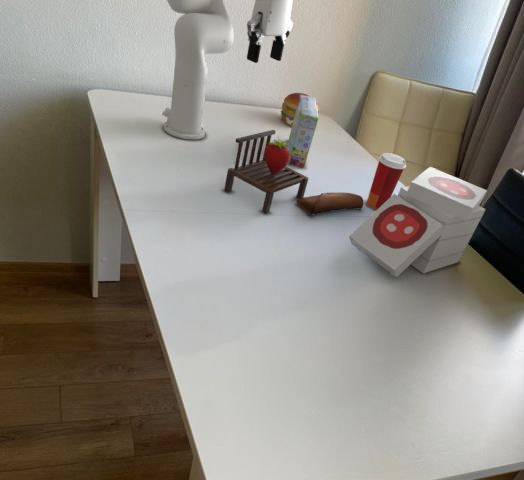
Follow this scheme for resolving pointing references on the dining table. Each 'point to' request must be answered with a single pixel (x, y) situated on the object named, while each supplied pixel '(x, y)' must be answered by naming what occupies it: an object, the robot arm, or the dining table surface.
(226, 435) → the dining table surface
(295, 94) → the burger
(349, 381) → the dining table surface
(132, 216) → the dining table surface
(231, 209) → the dining table surface
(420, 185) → the pizza boxes
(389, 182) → the paper cup
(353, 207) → the sunglasses case
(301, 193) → the miniature wooden chair
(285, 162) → the strawberry
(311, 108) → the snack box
